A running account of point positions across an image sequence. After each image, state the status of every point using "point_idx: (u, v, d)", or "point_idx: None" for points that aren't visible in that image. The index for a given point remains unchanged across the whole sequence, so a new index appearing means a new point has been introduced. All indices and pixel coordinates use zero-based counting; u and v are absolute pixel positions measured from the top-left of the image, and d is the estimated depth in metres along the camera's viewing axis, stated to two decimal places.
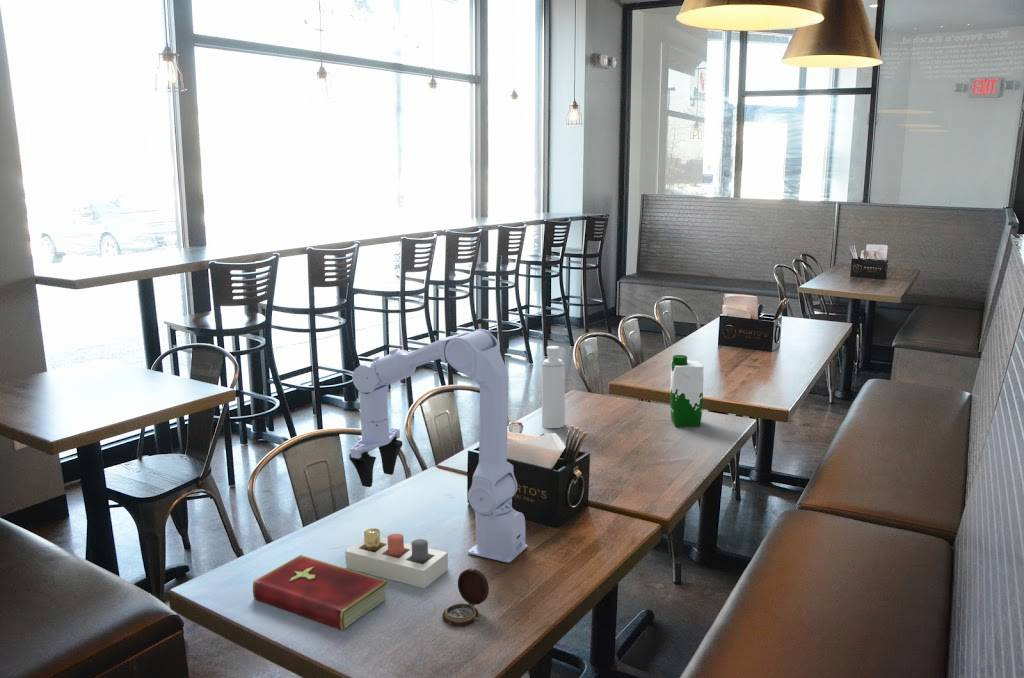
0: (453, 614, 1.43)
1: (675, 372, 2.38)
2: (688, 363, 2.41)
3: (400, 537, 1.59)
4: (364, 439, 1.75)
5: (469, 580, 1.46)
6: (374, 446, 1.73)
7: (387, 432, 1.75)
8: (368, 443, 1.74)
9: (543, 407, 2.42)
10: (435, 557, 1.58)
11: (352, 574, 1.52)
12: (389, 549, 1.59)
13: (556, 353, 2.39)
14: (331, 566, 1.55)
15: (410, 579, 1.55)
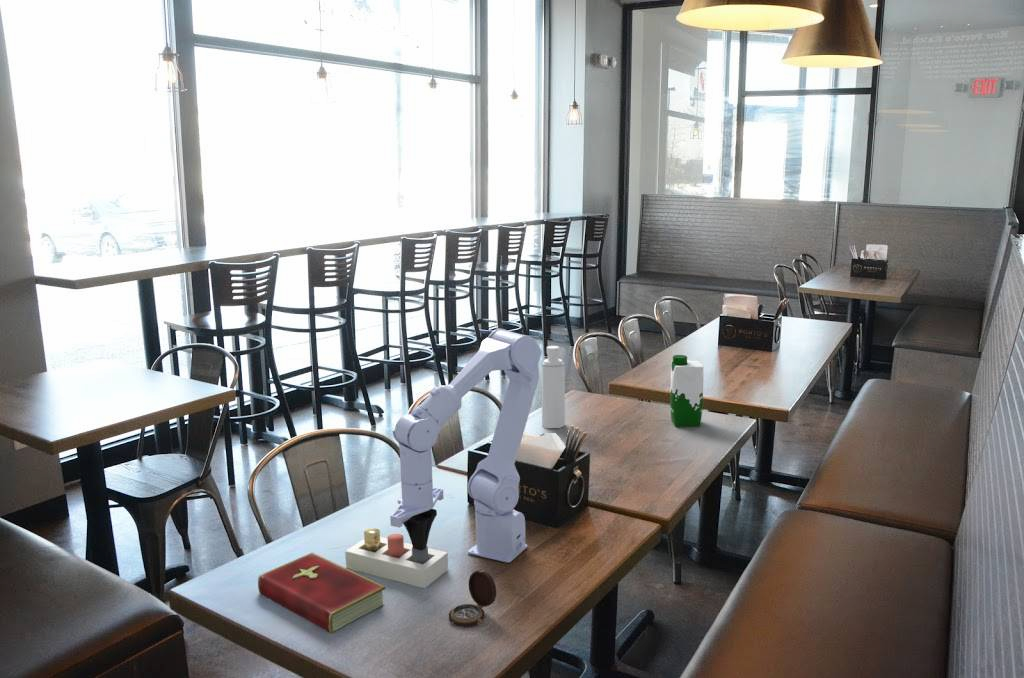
0: (459, 614, 1.43)
1: (675, 372, 2.38)
2: (688, 363, 2.41)
3: (400, 537, 1.59)
4: (405, 503, 1.53)
5: (479, 581, 1.46)
6: (417, 512, 1.52)
7: (431, 495, 1.54)
8: (410, 508, 1.53)
9: (543, 407, 2.42)
10: (435, 557, 1.58)
11: (354, 576, 1.51)
12: (389, 549, 1.59)
13: (556, 353, 2.39)
14: (337, 566, 1.55)
15: (410, 579, 1.55)
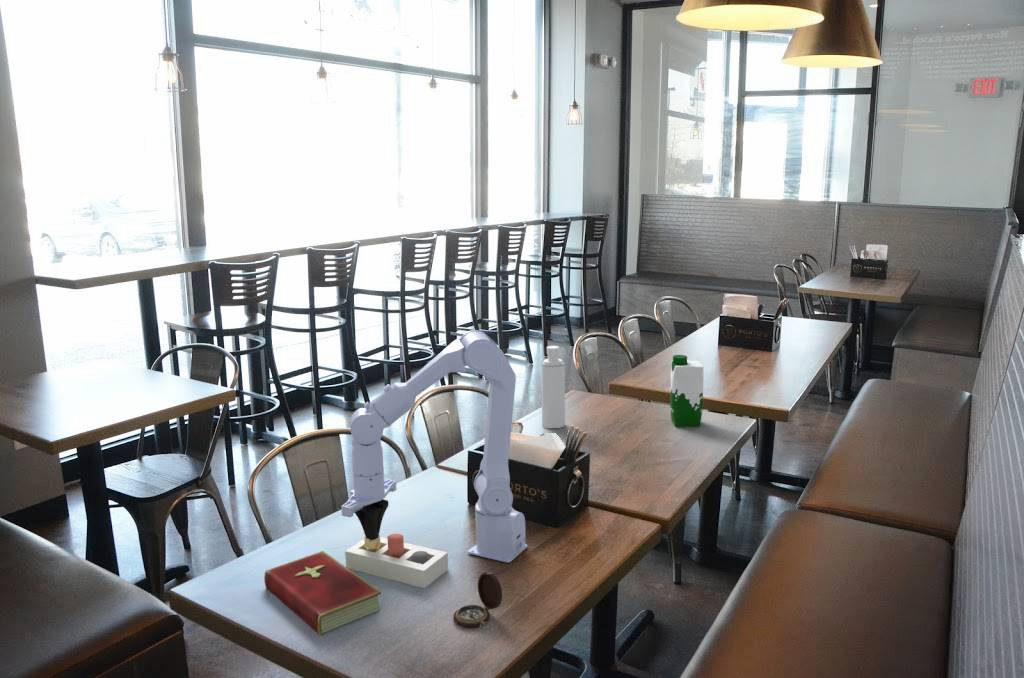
0: (465, 614, 1.43)
1: (675, 372, 2.38)
2: (688, 363, 2.41)
3: (400, 537, 1.59)
4: (357, 494, 1.58)
5: (487, 583, 1.45)
6: (368, 503, 1.57)
7: (382, 486, 1.59)
8: (361, 499, 1.58)
9: (543, 407, 2.42)
10: (435, 557, 1.58)
11: (355, 578, 1.50)
12: (389, 549, 1.59)
13: (556, 353, 2.39)
14: (342, 567, 1.55)
15: (410, 579, 1.55)
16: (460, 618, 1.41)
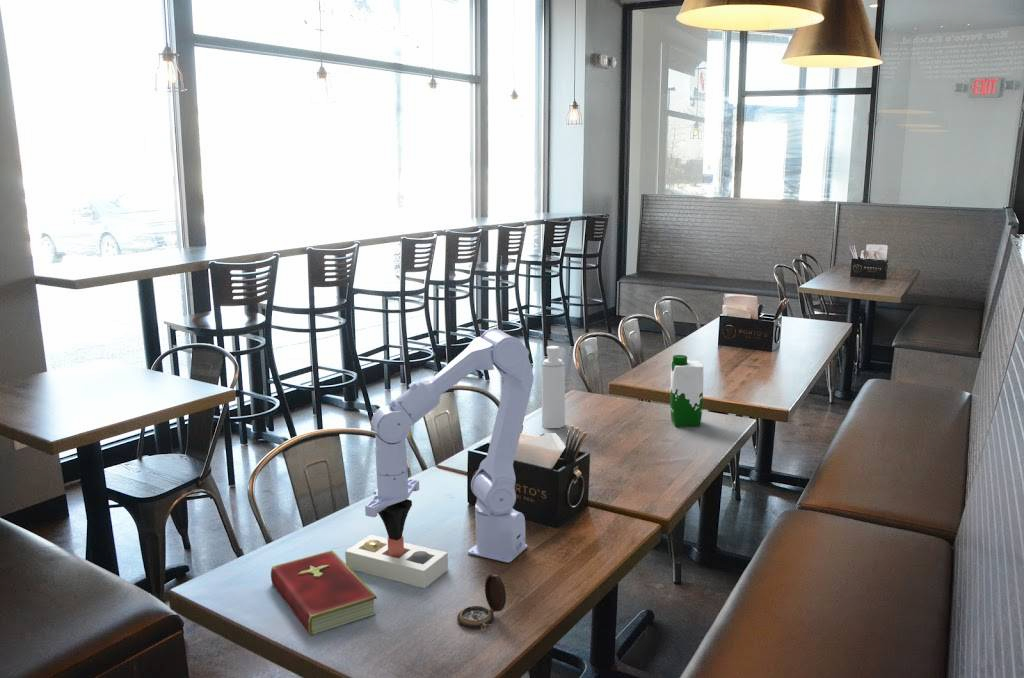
0: (469, 615, 1.43)
1: (675, 372, 2.38)
2: (688, 363, 2.41)
3: (400, 538, 1.59)
4: (380, 494, 1.56)
5: (494, 585, 1.44)
6: (392, 502, 1.54)
7: (406, 486, 1.56)
8: (385, 499, 1.55)
9: (543, 407, 2.42)
10: (435, 557, 1.58)
11: (354, 581, 1.49)
12: (389, 550, 1.59)
13: (556, 353, 2.39)
14: (345, 568, 1.54)
15: (410, 579, 1.55)
16: (463, 618, 1.41)
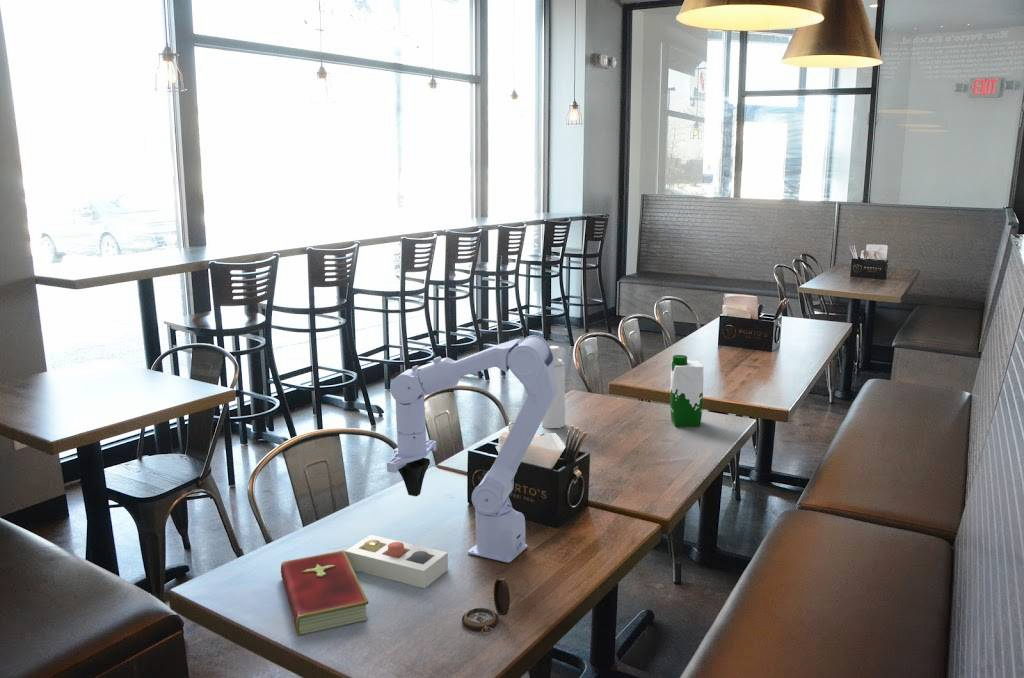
0: (475, 616, 1.43)
1: (675, 372, 2.38)
2: (688, 363, 2.41)
3: (400, 545, 1.60)
4: (400, 452, 1.66)
5: (501, 589, 1.43)
6: (411, 460, 1.64)
7: (424, 445, 1.66)
8: (405, 456, 1.65)
9: None
10: (435, 557, 1.58)
11: (353, 584, 1.48)
12: None
13: (556, 353, 2.39)
14: (350, 569, 1.54)
15: (410, 579, 1.55)
16: (466, 619, 1.41)
